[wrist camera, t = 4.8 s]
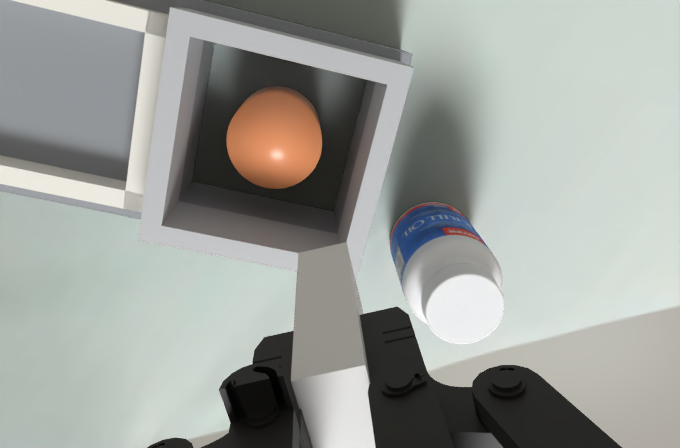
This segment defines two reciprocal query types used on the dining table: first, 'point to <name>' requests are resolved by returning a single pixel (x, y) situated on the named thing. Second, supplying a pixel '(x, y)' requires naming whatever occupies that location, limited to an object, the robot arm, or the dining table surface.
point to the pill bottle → (447, 273)
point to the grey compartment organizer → (176, 121)
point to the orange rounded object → (275, 138)
